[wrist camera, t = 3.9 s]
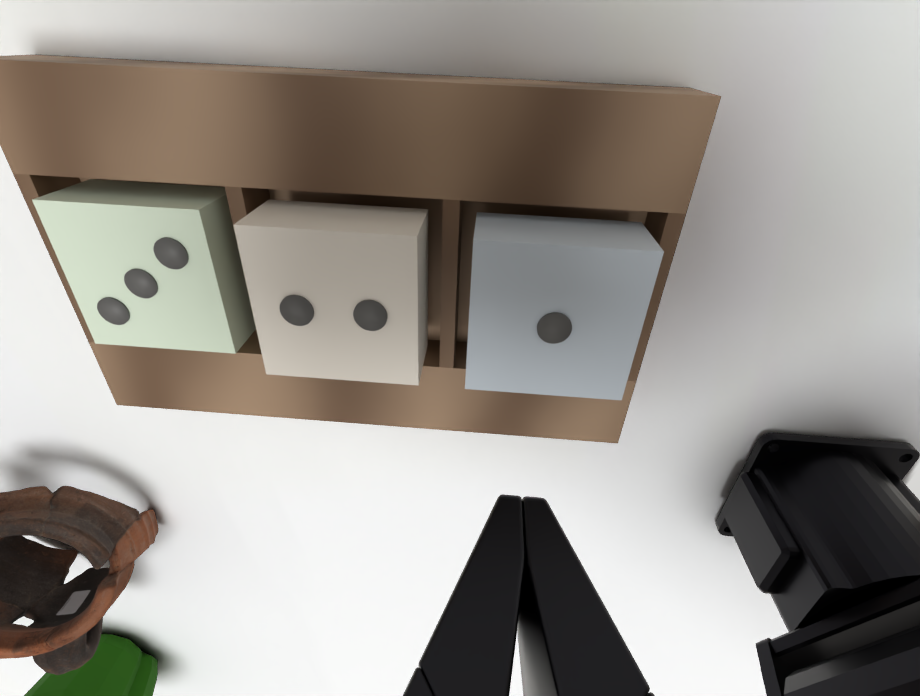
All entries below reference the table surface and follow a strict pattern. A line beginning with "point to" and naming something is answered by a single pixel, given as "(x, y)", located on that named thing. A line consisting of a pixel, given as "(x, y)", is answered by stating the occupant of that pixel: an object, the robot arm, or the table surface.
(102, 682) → the bell pepper
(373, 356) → the tile two
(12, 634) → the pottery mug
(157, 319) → the tile three
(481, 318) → the tile one
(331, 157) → the tile board
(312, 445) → the table surface
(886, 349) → the table surface
